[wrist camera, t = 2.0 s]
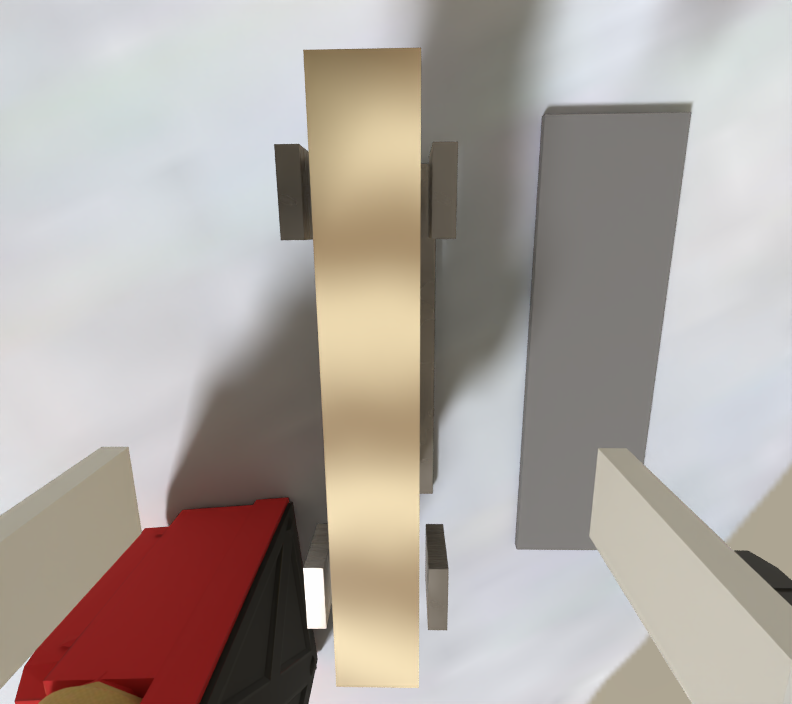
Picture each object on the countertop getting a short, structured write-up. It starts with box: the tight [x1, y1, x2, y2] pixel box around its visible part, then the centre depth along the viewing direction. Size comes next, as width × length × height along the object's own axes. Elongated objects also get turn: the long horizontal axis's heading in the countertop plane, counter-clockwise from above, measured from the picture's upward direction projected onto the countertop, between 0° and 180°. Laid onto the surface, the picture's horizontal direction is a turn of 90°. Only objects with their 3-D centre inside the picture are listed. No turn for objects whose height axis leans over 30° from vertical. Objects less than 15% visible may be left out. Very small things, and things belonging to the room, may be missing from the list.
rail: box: [303, 48, 421, 688], centre depth 18 cm, size 24×4×4 cm, turn 1°
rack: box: [274, 142, 458, 630], centre depth 24 cm, size 21×6×13 cm, turn 1°
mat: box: [515, 112, 691, 550], centre depth 29 cm, size 28×8×1 cm, turn 1°
